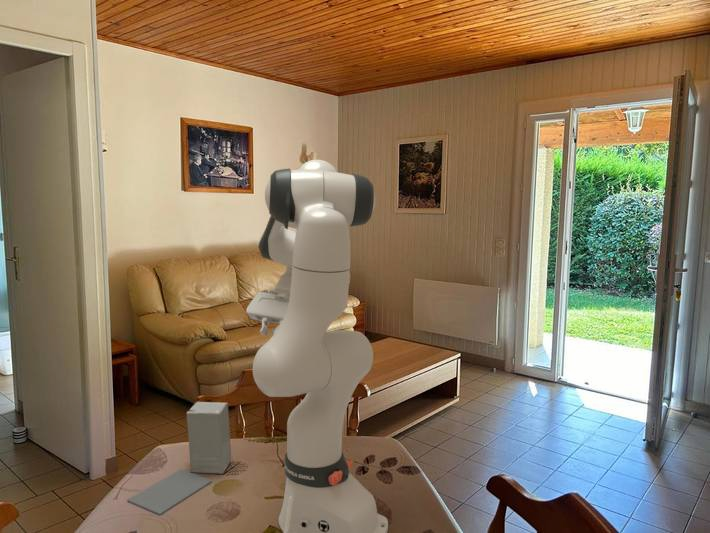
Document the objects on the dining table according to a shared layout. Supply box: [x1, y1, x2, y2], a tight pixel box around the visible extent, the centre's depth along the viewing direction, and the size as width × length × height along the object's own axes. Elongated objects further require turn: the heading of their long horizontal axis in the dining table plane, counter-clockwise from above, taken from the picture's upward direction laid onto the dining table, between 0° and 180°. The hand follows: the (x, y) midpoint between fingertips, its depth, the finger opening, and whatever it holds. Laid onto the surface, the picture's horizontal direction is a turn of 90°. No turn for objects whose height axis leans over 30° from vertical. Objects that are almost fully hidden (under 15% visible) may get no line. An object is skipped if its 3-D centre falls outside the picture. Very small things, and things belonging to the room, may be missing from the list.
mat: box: [126, 468, 213, 516], centre depth 117 cm, size 10×15×1 cm, turn 151°
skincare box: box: [186, 401, 232, 474], centre depth 127 cm, size 8×7×16 cm
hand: (268, 335), depth 139 cm, fingers open, 2 cm apart
